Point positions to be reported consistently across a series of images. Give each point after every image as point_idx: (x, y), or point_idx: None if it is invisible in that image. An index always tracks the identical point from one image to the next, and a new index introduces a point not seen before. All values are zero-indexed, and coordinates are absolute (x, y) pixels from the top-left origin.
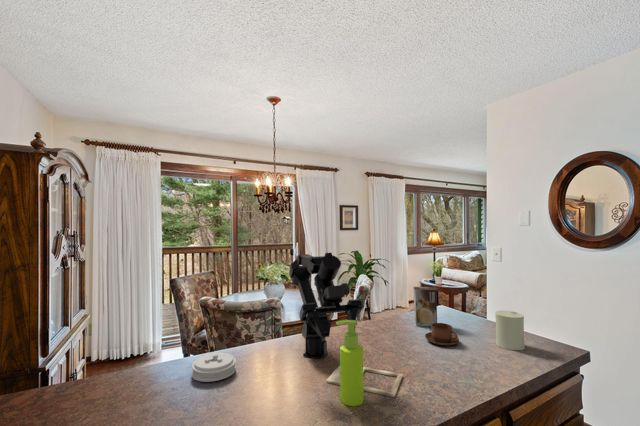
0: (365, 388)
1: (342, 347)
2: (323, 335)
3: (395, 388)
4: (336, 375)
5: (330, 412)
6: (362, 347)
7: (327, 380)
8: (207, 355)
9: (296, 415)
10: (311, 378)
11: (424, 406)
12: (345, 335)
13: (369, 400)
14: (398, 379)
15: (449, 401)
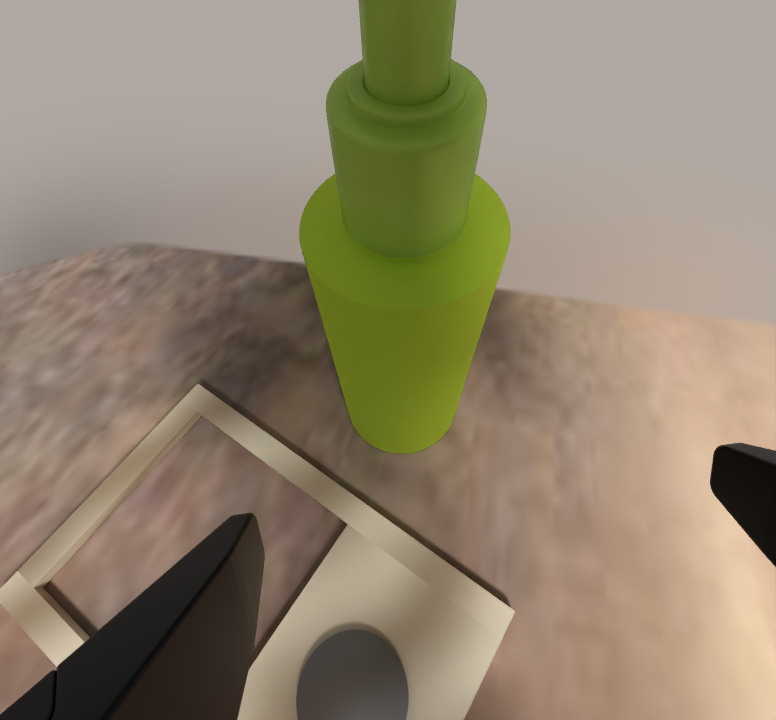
0: (306, 463)
1: (490, 225)
2: (753, 455)
3: (156, 436)
4: (437, 674)
5: (510, 332)
6: (303, 219)
7: (508, 606)
8: None
9: (650, 334)
10: (617, 699)
11: (130, 312)
12: (483, 95)
13: (324, 384)
14: (72, 529)
15: (8, 326)
